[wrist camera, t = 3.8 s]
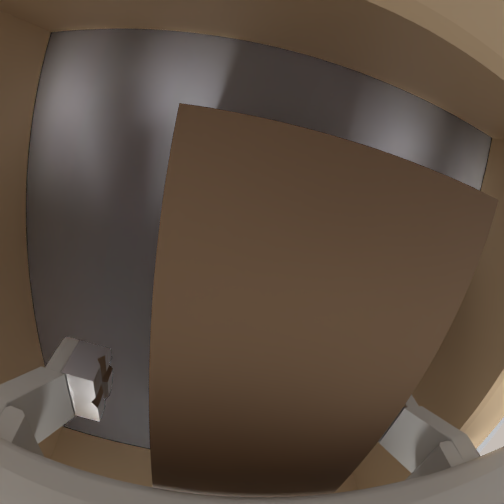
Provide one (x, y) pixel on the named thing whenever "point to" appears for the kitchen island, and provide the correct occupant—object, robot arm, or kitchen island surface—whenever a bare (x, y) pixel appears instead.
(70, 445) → the carton
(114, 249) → the kitchen island surface
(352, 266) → the walnut box
